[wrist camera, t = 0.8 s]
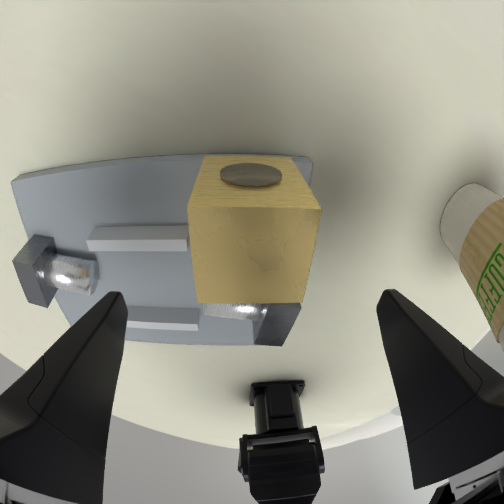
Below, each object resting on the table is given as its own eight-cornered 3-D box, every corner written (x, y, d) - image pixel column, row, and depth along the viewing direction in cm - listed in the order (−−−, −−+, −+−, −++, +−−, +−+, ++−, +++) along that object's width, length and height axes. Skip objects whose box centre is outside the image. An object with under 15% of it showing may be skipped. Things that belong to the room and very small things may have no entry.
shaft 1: (95, 244, 16) (76, 275, 14) (102, 287, 19) (88, 318, 16) (34, 233, 16) (12, 260, 13) (45, 274, 18) (28, 302, 15)
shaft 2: (203, 304, 20) (200, 338, 18) (209, 262, 18) (206, 297, 15) (276, 312, 21) (282, 346, 18) (292, 273, 19) (301, 308, 16)
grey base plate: (279, 333, 25) (283, 358, 22) (79, 325, 23) (71, 346, 21) (307, 157, 15) (320, 172, 13) (19, 175, 14) (-3, 191, 12)
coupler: (282, 231, 17) (301, 304, 12) (207, 231, 16) (197, 305, 12) (291, 154, 14) (322, 205, 9) (204, 153, 14) (186, 203, 9)
